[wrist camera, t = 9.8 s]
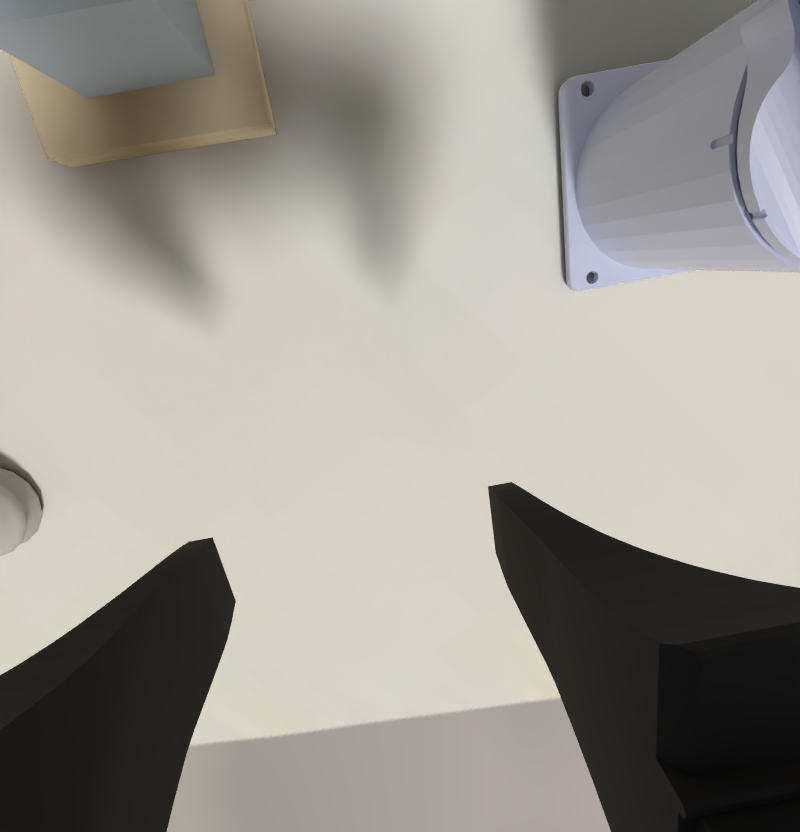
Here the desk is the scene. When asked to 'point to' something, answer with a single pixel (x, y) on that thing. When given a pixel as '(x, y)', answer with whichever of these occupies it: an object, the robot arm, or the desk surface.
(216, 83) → the maple block
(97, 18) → the slate block
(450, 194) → the desk surface
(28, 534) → the rook chess piece
